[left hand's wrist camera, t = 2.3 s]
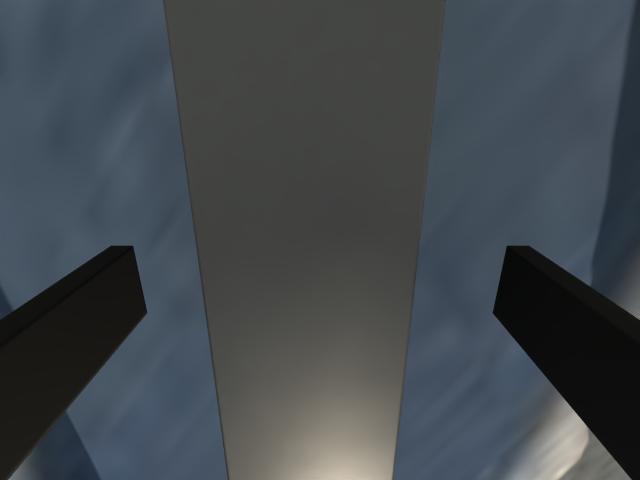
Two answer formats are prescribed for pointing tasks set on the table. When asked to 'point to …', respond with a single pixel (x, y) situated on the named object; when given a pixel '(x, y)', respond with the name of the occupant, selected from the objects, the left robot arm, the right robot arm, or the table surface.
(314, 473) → the beam
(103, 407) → the table surface
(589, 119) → the table surface
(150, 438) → the table surface
